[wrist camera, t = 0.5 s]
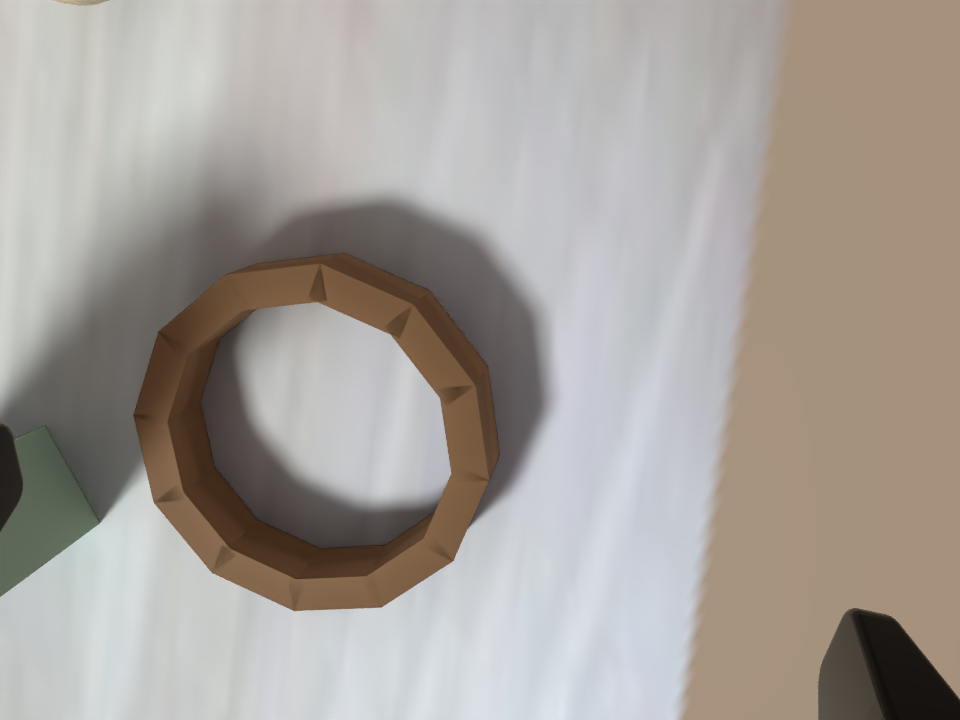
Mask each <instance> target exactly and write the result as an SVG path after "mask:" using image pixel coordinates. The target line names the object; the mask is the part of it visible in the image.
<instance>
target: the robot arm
mask: <svg viewBox="0 0 960 720" xmlns="http://www.w3.org/2000/svg"><path fill="white" fill-rule="evenodd" d="M22 492H23V476H22V472H21V468H20V463H19V459H18V455H17V450H16V446H15V442H14V437H13V434H12V432H11V431H10V429H9V428H8V427H7V426H5V425H4V424H1V423H0V533H1V531H2V529H3V528H4V526H5V525H6V523H7V521H8V520H9V518H10V516H11V515H12V513H13V512H14V510H15V508H16V507H17V505H18V503H19V501H20V498H21V496H22ZM818 720H960V699H959V698H958V696H957V695H956V694H955V693H954V691H953V690H952V689H951V688H950V686H949V685H948V684H947V683H946V681H945V680H944V679H943V678H942V676H941V675H940V674H939V673H938V672H937V670H936V669H935V668H934V666H933V665H932V664H931V663H930V661H929V660H928V659H927V658H926V656H925V655H924V654H923V653H922V652H921V650H920V649H919V648H918V646H917V645H916V644H915V643H914V641H913V640H912V639H911V638H910V636H909V635H908V634H907V633H906V632H905V630H904V629H903V628H902V626H901V625H900V624H899V623H898V622H897V621H896V620H895V619H894V618H892V617H891V616H888V615H886V614H881V613H876V612H872V611H867V610H863V609H858V608H853V609H849V610H848V611H847V612H846V613H845V614H844V615H843V617H842V619H841V621H840V623H839V626H838V628H837V630H836V632H835V634H834V637H833V639H832V641H831V643H830V645H829V648H828V650H827V652H826V654H825V656H824V659H823V661H822V664H821V668H820V673H819V681H818Z"/></svg>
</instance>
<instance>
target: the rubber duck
mask: <svg viewBox="0 0 960 720" xmlns="http://www.w3.org/2000/svg"><path fill="white" fill-rule="evenodd" d="M54 1H57V2H62V3H67V4H75V5H95V4H99V3H102V2H105V1H108V0H54Z"/></svg>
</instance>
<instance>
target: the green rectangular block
mask: <svg viewBox="0 0 960 720" xmlns="http://www.w3.org/2000/svg"><path fill="white" fill-rule="evenodd" d="M14 442H15V446H16V450H17V455H18V459H19V463H20V468H21V472H22V476H23V492H22V496H21V498H20V501H19V503H18V505H17V507H16V508H15V510H14V512H13V513H12V515H11V516H10V518H9V520H8V521H7V523H6V525H5V526H4V528H3V529H2V531H1V533H0V597H1V596H2V595H3V594H5V593H6V592H8V591H9V590H10V589H12V588H13V587H14V586H16V585H17V584H18V583H20V582H21V581H22V580H24V579H25V578H26V577H28V576H29V575H31V574H32V573H33V572H35V571H36V570H37V569H39V568H40V567H41V566H43V565H44V564H45V563H47V562H48V561H49V560H51V559H52V558H54V557H55V556H56V555H58V554H59V553H60V552H62V551H63V550H64V549H66V548H67V547H68V546H70V545H71V544H72V543H74V542H75V541H77V540H78V539H79V538H81V537H82V536H83V535H85V534H86V533H87V532H89V531H90V530H91V529H93V528H94V527H95V526H97V525H98V524H100V522H99V520H98V519H97V517H96V515H95V513H94V511H93V510H92V508H91V506H90V504H89V503H88V501H87V499H86V497H85V496H84V494H83V492H82V490H81V489H80V487H79V485H78V483H77V481H76V480H75V478H74V476H73V474H72V473H71V471H70V469H69V467H68V466H67V464H66V462H65V460H64V459H63V457H62V455H61V453H60V451H59V450H58V448H57V446H56V444H55V443H54V441H53V439H52V437H51V436H50V434H49V432H48V430H47V429H46V427H45V425H44V426H42V427H40V428H38V429H36V430H34V431H31V432H29V433H27V434H25V435H23V436H21V437H19V438H16V439H14Z"/></svg>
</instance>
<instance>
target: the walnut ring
mask: <svg viewBox="0 0 960 720" xmlns="http://www.w3.org/2000/svg"><path fill="white" fill-rule="evenodd" d="M312 302H319V303H321V304H323V305H325V306H328V307H330V308H332V309H334V310H337V311H339V312H341V313H343V314H346V315H348V316H350V317H353V318H355V319H357V320H359V321H362V322H364V323H366V324H368V325H371V326H373V327H375V328H377V329H380V330H382V331H384V332H386V333H389V334H391V335H392V337H393V338H394V339H395V341H396V342H397V343H398V344H399V346H400V347H401V348H402V350H403V351H404V352H405V353H406V355H407V356H408V357H409V359H410V360H411V361H412V362H413V364H414V365H415V366H416V368H417V369H418V370H419V371H420V373H421V374H422V375H423V377H424V378H425V379H426V381H427V382H428V383H429V384H430V386H431V387H432V388H433V390H434V391H435V392H436V393H437V395H438V396H439V397H440V400H441V407H442V413H443V420H444V426H445V433H446V440H447V446H448V453H449V459H450V466H451V472H452V474H451V476H450V478H449V481H448V483H447V485H446V488H445V490H444V492H443V495H442V497H441V499H440V502H439V504H438V506H437V509H436V511H435V512H434V513H432V514H431V515H429V516H428V517H426V518H425V519H423V520H422V521H421V522H419V523H418V524H416V525H415V526H413V527H412V528H410V529H409V530H407V531H406V532H404V533H403V534H401V535H400V536H398V537H397V538H395V539H394V540H392V541H391V542H389V543H388V544H386V545H377V546H358V547H339V548H317V547H315V546H313V545H311V544H309V543H307V542H304V541H302V540H300V539H298V538H296V537H293V536H291V535H289V534H287V533H285V532H283V531H280V530H278V529H276V528H274V527H272V526H270V525H267V524H265V523H263V522H261V521H259V520H257V519H256V517H255V516H254V515H253V514H252V512H251V511H250V510H249V509H248V508H247V506H246V505H245V504H244V503H243V501H242V500H241V499H240V498H239V497H238V495H237V494H236V493H235V492H234V490H233V489H232V488H231V487H230V485H229V484H228V483H227V482H226V481H225V479H224V478H223V477H222V476H221V474H220V473H219V472H218V471H217V470H216V468H215V467H214V463H213V459H212V454H211V449H210V445H209V440H208V436H207V431H206V426H205V422H204V417H203V412H202V408H201V403H200V399H201V396H202V393H203V390H204V387H205V384H206V381H207V378H208V375H209V371H210V368H211V365H212V362H213V359H214V356H215V353H216V350H217V347H218V344H219V340H220V338H221V337H223V336H224V335H225V334H226V333H228V332H229V331H230V330H231V329H232V328H234V327H235V326H236V325H237V324H239V323H240V322H241V321H242V320H243V319H245V318H246V317H247V316H248V315H250V314H251V313H252V312H253V311H254V310H256V309H258V308H267V307H276V306H285V305H294V304H303V303H312ZM133 416H134V420H135V424H136V428H137V433H138V437H139V441H140V446H141V450H142V454H143V458H144V463H145V467H146V471H147V475H148V480H149V484H150V488H151V492H152V497H153V501H154V503H155V504H156V506H157V507H158V508H159V509H160V511H161V512H162V513H163V514H164V515H165V517H166V518H167V519H168V520H169V521H170V523H171V524H172V525H173V526H174V527H175V529H176V530H177V531H178V532H179V533H180V535H181V536H182V537H183V538H184V539H185V541H186V542H187V543H188V544H189V545H190V547H191V548H192V549H193V550H194V552H195V553H196V554H197V555H198V556H199V558H200V559H201V560H202V561H203V562H204V564H205V565H206V566H207V567H208V568H209V570H210V571H211V572H212V573H214V574H216V575H218V576H220V577H222V578H224V579H227V580H229V581H231V582H233V583H235V584H237V585H240V586H242V587H244V588H246V589H248V590H250V591H252V592H255V593H257V594H259V595H261V596H263V597H265V598H268V599H270V600H272V601H274V602H276V603H278V604H280V605H283V606H285V607H287V608H289V609H291V610H293V611H302V610H328V609H353V608H379V607H383V606H384V605H386V604H387V603H389V602H390V601H392V600H394V599H395V598H397V597H398V596H400V595H401V594H403V593H404V592H406V591H407V590H409V589H411V588H412V587H414V586H415V585H417V584H418V583H420V582H421V581H423V580H424V579H426V578H428V577H429V576H431V575H432V574H434V573H435V572H437V571H438V570H440V569H441V568H443V567H445V566H446V565H448V564H449V563H451V562H452V561H453V560H454V558H455V556H456V553H457V551H458V549H459V547H460V544H461V542H462V540H463V538H464V535H465V533H466V531H467V529H468V526H469V524H470V522H471V520H472V517H473V515H474V513H475V511H476V508H477V506H478V504H479V502H480V499H481V497H482V495H483V493H484V490H485V488H486V486H487V484H488V481H489V479H490V477H491V475H492V472H493V470H494V468H495V465H496V463H497V460H498V458H499V456H500V452H499V445H498V438H497V431H496V424H495V416H494V409H493V402H492V395H491V387H490V380H489V373H488V366H487V365H486V363H485V362H484V361H483V359H482V358H481V357H480V356H479V354H478V353H477V352H476V350H475V349H474V348H473V346H472V345H471V344H470V342H469V341H468V340H467V339H466V337H465V336H464V335H463V333H462V332H461V331H460V329H459V328H458V327H457V325H456V324H455V323H454V322H453V320H452V319H451V318H450V316H449V315H448V314H447V312H446V311H445V310H444V309H443V307H442V306H441V305H440V303H439V302H438V301H437V299H436V298H435V297H434V295H433V294H432V293H431V292H430V291H429V290H427V289H424V288H422V287H420V286H418V285H415V284H413V283H411V282H408V281H406V280H404V279H402V278H399V277H397V276H395V275H392V274H390V273H388V272H386V271H383V270H381V269H379V268H377V267H374V266H372V265H370V264H367V263H365V262H363V261H361V260H358V259H356V258H354V257H351V256H349V255H347V254H345V253H342V254H334V255H325V256H317V257H309V258H300V259H292V260H284V261H275V262H267V263H259V264H254V265H251V266H248V267H246V268H243V269H240V270H237V271H235V272H232V273H229V274H226V275H225V276H224V277H223V278H222V279H220V280H219V281H218V282H217V283H216V284H214V285H213V286H212V287H211V288H210V289H209V290H207V291H206V292H205V293H204V294H203V295H201V296H200V297H199V298H198V299H197V300H195V301H194V302H193V303H192V304H191V305H190V306H188V307H187V308H186V309H185V310H184V311H182V312H181V313H180V314H179V315H178V316H176V317H175V318H174V319H173V320H172V321H170V322H169V323H168V324H167V325H166V326H165V327H163V328H162V329H161V330H160V331H158V335H157V338H156V341H155V345H154V348H153V351H152V355H151V358H150V361H149V365H148V368H147V371H146V375H145V378H144V382H143V385H142V388H141V392H140V395H139V398H138V402H137V405H136V408H135V412H134V415H133Z"/></svg>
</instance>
